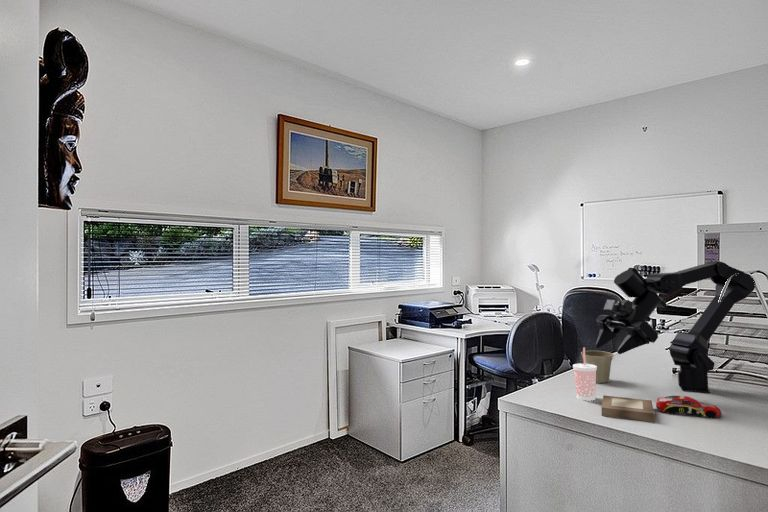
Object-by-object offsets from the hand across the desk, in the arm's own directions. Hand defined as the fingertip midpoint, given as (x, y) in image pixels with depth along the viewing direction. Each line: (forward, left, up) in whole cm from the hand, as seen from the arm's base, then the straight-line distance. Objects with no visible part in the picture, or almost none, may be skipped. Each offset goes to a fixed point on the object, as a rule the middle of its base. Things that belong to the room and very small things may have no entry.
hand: (606, 350), depth 124 cm
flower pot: (+3, -17, -13) cm, 22 cm away
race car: (-18, +7, -13) cm, 23 cm away
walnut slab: (-5, +12, -13) cm, 18 cm away
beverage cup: (+5, +4, -13) cm, 15 cm away
